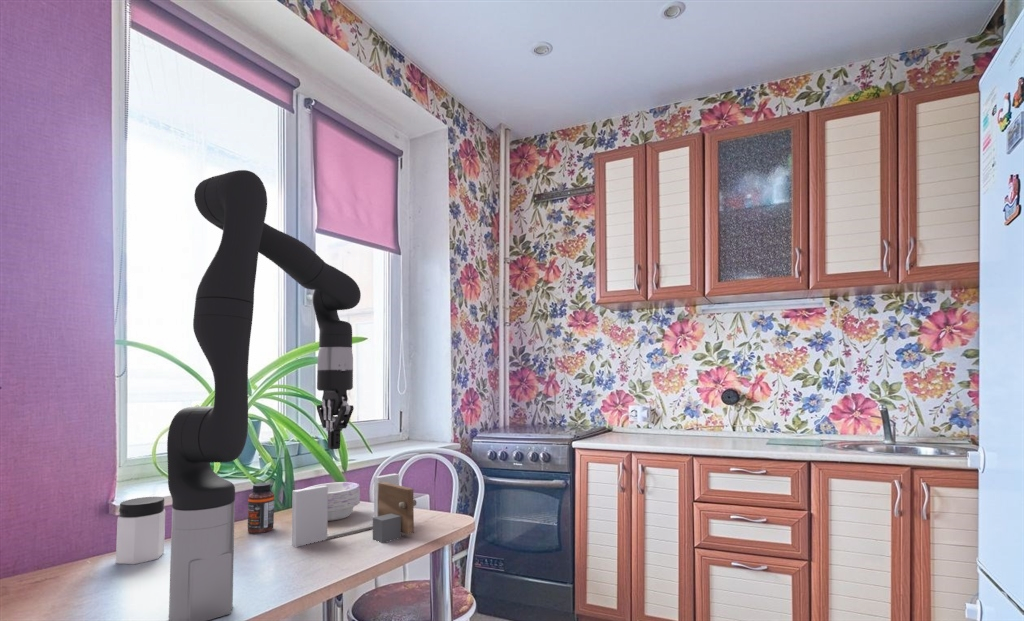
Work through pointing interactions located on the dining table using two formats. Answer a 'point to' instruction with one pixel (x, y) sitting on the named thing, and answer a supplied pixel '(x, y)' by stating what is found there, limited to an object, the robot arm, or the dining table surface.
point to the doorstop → (386, 527)
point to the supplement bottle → (261, 509)
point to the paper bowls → (341, 499)
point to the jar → (140, 530)
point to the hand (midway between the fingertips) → (333, 448)
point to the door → (397, 504)
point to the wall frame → (323, 513)
